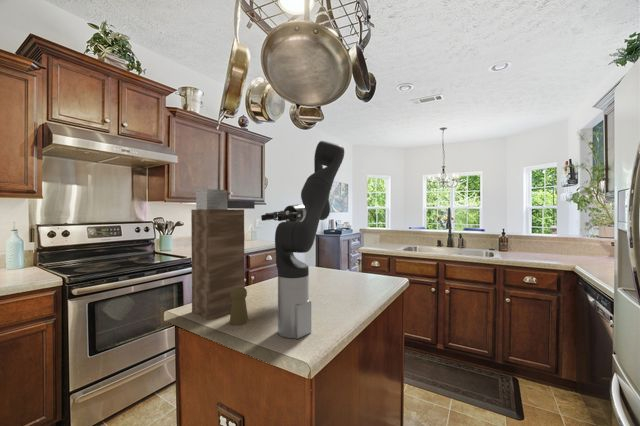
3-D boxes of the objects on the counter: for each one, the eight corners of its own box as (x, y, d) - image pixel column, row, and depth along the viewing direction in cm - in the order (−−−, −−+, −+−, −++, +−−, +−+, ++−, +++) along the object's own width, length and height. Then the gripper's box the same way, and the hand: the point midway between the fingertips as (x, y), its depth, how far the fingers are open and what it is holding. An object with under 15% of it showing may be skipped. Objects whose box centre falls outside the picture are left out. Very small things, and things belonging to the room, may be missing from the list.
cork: (243, 325, 94) (243, 291, 94) (225, 324, 95) (225, 290, 95) (251, 318, 100) (251, 286, 99) (235, 317, 101) (234, 285, 101)
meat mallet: (257, 209, 118) (257, 192, 118) (207, 209, 101) (206, 188, 100) (246, 209, 122) (246, 192, 122) (196, 209, 105) (196, 189, 105)
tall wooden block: (244, 308, 110) (244, 209, 110) (210, 319, 99) (209, 209, 99) (225, 302, 117) (225, 209, 117) (191, 311, 106) (191, 209, 106)
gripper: (283, 204, 128) (256, 208, 115) (309, 204, 120) (283, 208, 107) (284, 221, 129) (257, 227, 116) (311, 222, 121) (285, 228, 108)
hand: (270, 218), depth 111 cm, fingers open, 8 cm apart
